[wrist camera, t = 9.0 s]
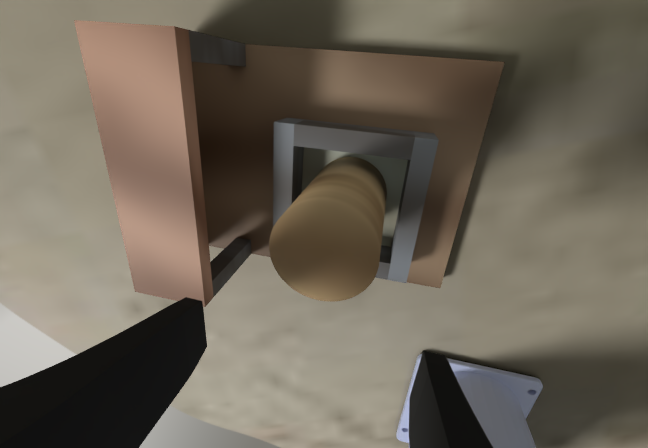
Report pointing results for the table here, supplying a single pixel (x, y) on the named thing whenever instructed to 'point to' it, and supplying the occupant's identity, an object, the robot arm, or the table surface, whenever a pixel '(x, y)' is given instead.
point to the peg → (332, 232)
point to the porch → (274, 146)
